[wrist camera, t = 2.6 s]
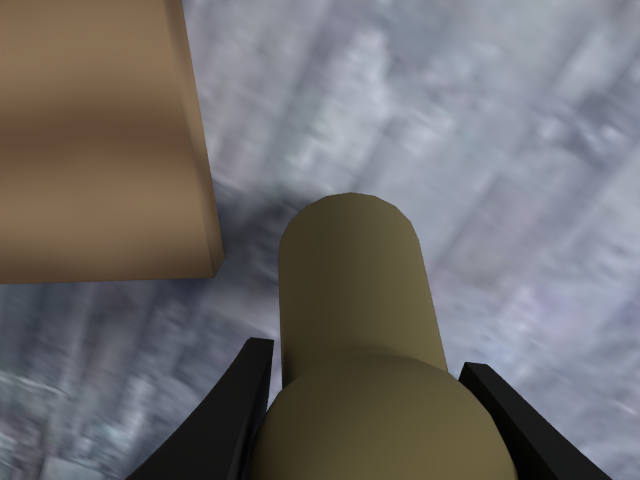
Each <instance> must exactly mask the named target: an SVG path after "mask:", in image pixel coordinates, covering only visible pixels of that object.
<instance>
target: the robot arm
mask: <svg viewBox="0 0 640 480" xmlns="http://www.w3.org/2000/svg"><path fill="white" fill-rule="evenodd" d="M273 346H274V340H270V339H261V338H253V337H251V338H249V339H248V340H247V341H246V342H245V344H244V346H243V347H242V349H241V351H240V352H239V354H238V355H237V357H236V358H235V360H234V361H233V363H232V364H231V365H230V367H229V368H228V369H227V371H226V372H225V373H224V375H223V376H222V377H221V379H220V380H219V381H218V382H217V384H216V385H215V386H214V387H213V389H212V390H211V391H210V392H209V394H208V395H207V396H206V397H205V399H204V400H203V401H202V402H201V403H200V404H199V405H198V407H197V408H196V409H195V410H194V411H193V412H192V413H191V414H190V415H189V417H188V418H187V419H186V420H185V421H184V422H183V423H182V424H181V426H180V427H179V428H178V429H177V430H176V431H175V432H174V433H173V434H172V435H171V436H170V437H169V438H168V439H167V440H166V441H165V442H164V443H163V444H162V445H161V446H160V447H159V448H158V449H157V450H156V451H155V452H154V453H153V454H152V455H151V456H150V457H149V458H148V459H147V460H146V461H145V462H144V463H143V464H142V465H141V466H139V467H138V468H137V469H136V470H135V471H134V472H133V473H132V474H131V475H130V476H128V477H127V478H126V479H125V480H246V474H247V466H248V462H249V457H250V452H251V447H252V442H253V438H254V436H255V434H256V432H257V430H258V428H259V426H260V424H261V422H262V420H263V418H264V416H265V414H266V410H267V404H268V398H269V388H270V377H271V367H272V356H273ZM458 381H459V382H460V383H461V384H462V385H463V386H465V387H466V388H467V389H468V390H469V391H470V392H472V394H473V395H474V396H475V397H476V398H477V400H478V401H479V402H480V403H481V404H482V405H483V407H484V408H485V409H486V410H487V411H488V413H489V414H490V415H491V417H492V419H493V421H494V423H495V425H496V427H497V429H498V431H499V433H500V435H501V437H502V439H503V442H504V444H505V446H506V448H507V450H508V452H509V454H510V457H511V459H512V461H513V463H514V465H515V467H516V470H517V475H518V479H519V480H612V479H611V478H610V477H609V476H607V475H606V474H605V473H604V472H603V471H602V470H601V469H599V468H598V467H597V466H596V465H595V464H594V463H593V462H591V461H590V460H589V459H588V458H587V457H586V456H585V455H583V454H582V453H581V452H580V451H579V450H578V449H577V448H576V447H574V446H573V445H572V444H571V443H570V442H569V441H568V440H567V439H566V438H565V437H563V436H562V435H561V434H560V433H559V432H558V431H557V430H556V429H555V428H554V427H553V426H552V425H551V424H550V423H548V422H547V421H546V420H545V419H544V418H543V417H542V416H541V415H540V414H539V413H538V412H537V411H536V410H535V409H534V408H533V407H532V406H531V405H530V404H529V403H528V402H527V401H526V400H524V399H523V398H522V397H521V396H520V395H519V394H518V393H517V392H516V391H515V390H514V389H513V388H512V387H511V386H510V385H509V384H508V383H507V382H506V381H505V380H504V379H503V378H502V377H501V376H499V375H498V374H497V373H496V372H495V371H494V370H493V369H492V368H491V367H490V366H488V365H487V364H479V363H471V362H465V363H464V366H463V368H462V371H461V374H460V377H459V379H458Z"/></svg>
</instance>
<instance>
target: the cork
mask: <svg viewBox="0 0 640 480" xmlns="http://www.w3.org/2000/svg"><path fill="white" fill-rule="evenodd" d="M278 276H279V306H280V336H281V365H282V390H281V391H280V392H279V393H278V395H277V396H276V398H275V400H274V401H273V403H272V404H271V406H270V408H269V409H268V411H267V412H266V414H265V416H264V418H263V420H262V422H261V424H260V426H259V428H258V430H257V432H256V434H255V436H254V438H253V442H252V447H251V452H250V457H249V462H248V466H247V474H246V480H519V479H518V475H517V470H516V467H515V465H514V463H513V461H512V459H511V457H510V454H509V452H508V450H507V448H506V446H505V444H504V442H503V439H502V437H501V435H500V433H499V431H498V429H497V427H496V425H495V423H494V421H493V419H492V417H491V415H490V414H489V413H488V411H487V410H486V409H485V408H484V407H483V405H482V404H481V403H480V402H479V401H478V400H477V398H476V397H475V396H474V395H473V394H472V392H470V391H469V390H468V389H467V388H466V387H465V386H463V385H462V384H461V383H460V382H459V381H458V380H457V379H455V378H454V377H453V376H452V375H451V374H450V373H448V368H447V364H446V359H445V355H444V350H443V346H442V341H441V337H440V332H439V328H438V324H437V319H436V315H435V310H434V306H433V301H432V297H431V292H430V288H429V283H428V279H427V274H426V270H425V266H424V261H423V257H422V252H421V248H420V243H419V240H418V237H417V235H416V233H415V231H414V228H413V226H412V224H411V222H410V221H409V220H408V219H407V218H406V217H405V216H404V215H403V214H402V213H401V212H400V210H399V209H398V208H397V207H396V206H394V205H392V204H390V203H388V202H386V201H384V200H382V199H380V198H378V197H376V196H372V195H365V194H359V193H352V192H350V193H343V194H337V195H331V196H326V197H324V198H322V199H320V200H318V201H316V202H314V203H312V204H310V205H308V206H306V207H305V208H304V209H303V210H302V211H301V212H300V213H298V214H297V215H296V216H295V217H294V218H293V219H292V220H291V221H290V222H289V224H288V226H287V228H286V230H285V232H284V234H283V236H282V238H281V240H280V247H279V256H278Z"/></svg>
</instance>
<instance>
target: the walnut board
mask: <svg viewBox="0 0 640 480" xmlns="http://www.w3.org/2000/svg"><path fill="white" fill-rule="evenodd" d="M224 259H225V255H224V249H223V243H222V237H221V232H220V226H219V220H218V214H217V208H216V202H215V196H214V190H213V184H212V178H211V172H210V166H209V161H208V155H207V149H206V143H205V137H204V131H203V125H202V119H201V113H200V107H199V101H198V96H197V90H196V84H195V78H194V72H193V66H192V60H191V54H190V48H189V42H188V36H187V30H186V25H185V19H184V13H183V7H182V1H181V0H0V284H26V283H59V282H91V281H123V280H155V279H187V278H214V277H215V275H216V273H217V271H218V269H219V268H220V266H221V264H222V262H223V261H224Z"/></svg>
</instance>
